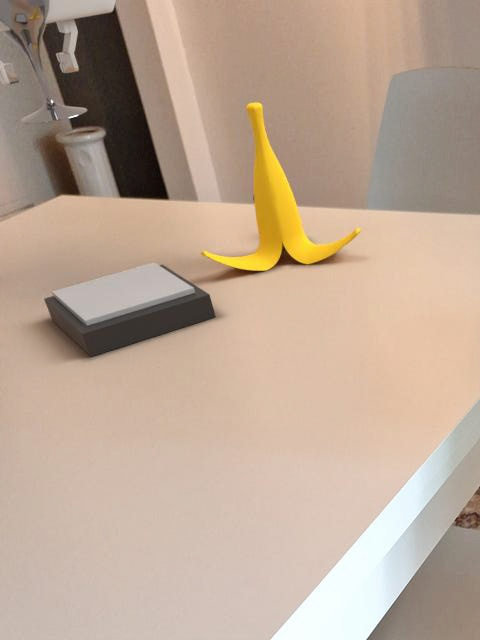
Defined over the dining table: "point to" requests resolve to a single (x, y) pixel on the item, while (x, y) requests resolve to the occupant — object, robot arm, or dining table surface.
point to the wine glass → (34, 52)
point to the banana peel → (276, 212)
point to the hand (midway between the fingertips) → (40, 77)
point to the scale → (128, 307)
